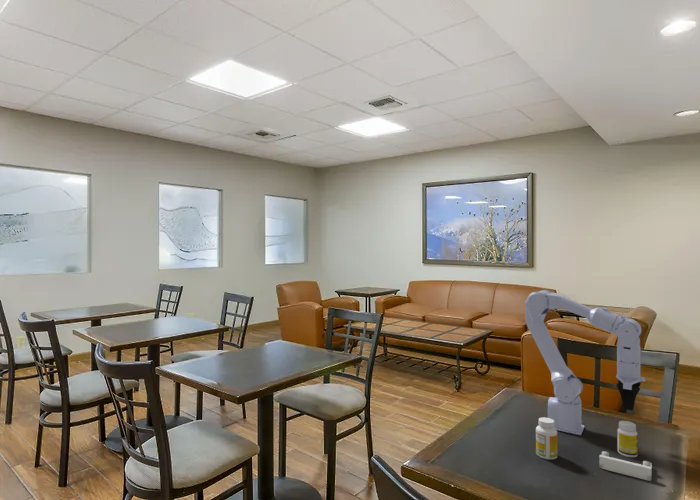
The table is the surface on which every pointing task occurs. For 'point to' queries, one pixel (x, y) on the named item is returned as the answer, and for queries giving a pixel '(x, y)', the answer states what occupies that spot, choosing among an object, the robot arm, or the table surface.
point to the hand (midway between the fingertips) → (628, 407)
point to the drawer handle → (625, 467)
